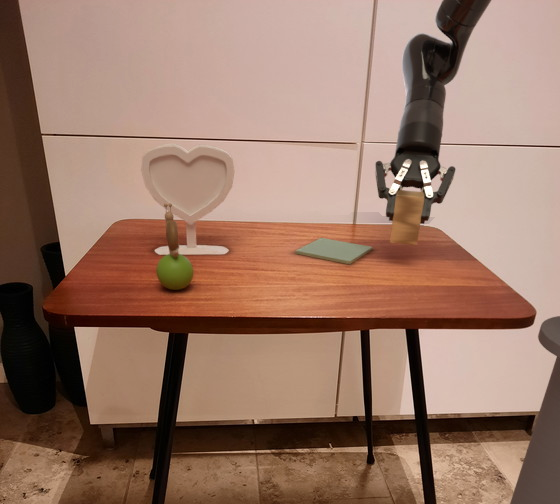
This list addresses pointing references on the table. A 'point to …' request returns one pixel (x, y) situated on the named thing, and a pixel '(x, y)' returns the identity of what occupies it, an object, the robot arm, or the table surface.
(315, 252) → the square tile
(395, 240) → the birch block
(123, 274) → the table surface
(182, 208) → the heart sculpture
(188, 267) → the green ball with handle
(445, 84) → the robot arm
